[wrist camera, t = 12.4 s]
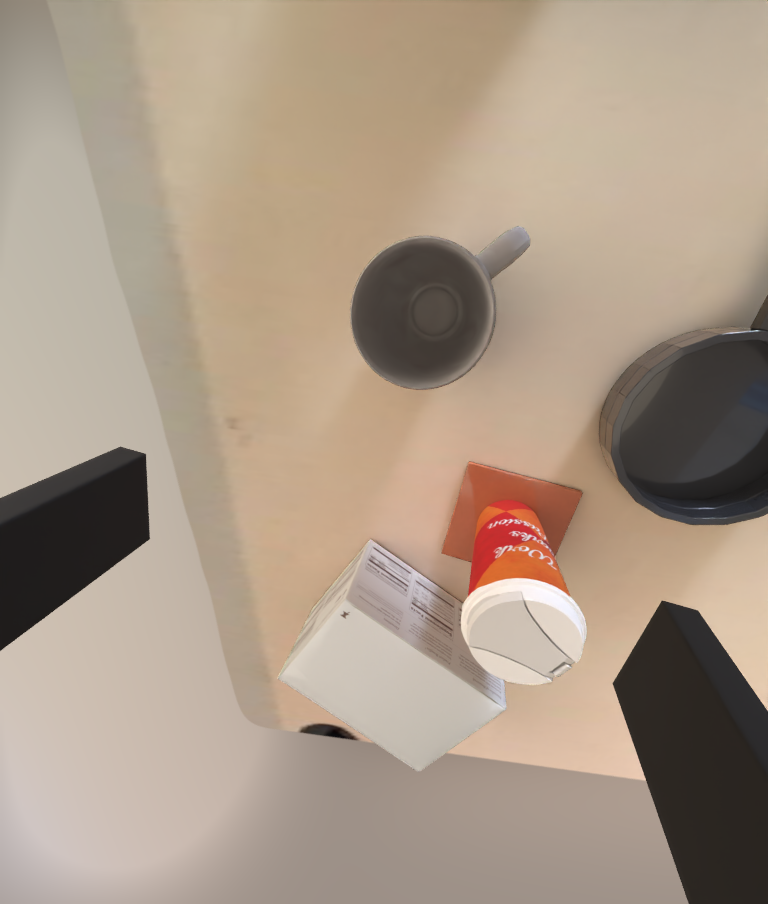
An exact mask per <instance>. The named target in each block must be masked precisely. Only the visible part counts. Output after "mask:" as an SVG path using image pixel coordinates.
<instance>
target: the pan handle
mask: <svg viewBox="0 0 768 904" xmlns="http://www.w3.org/2000/svg"><path fill="white" fill-rule="evenodd" d="M751 329H756V330H764V331H768V295H767V297H766V299H765V301H764V303H763V305H762V307H761V308H760V310H759V312H758V314H757V316H756V318H755V320H754V322H753V324H752V326H751Z"/></svg>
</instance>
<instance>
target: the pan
mask: <svg viewBox="0 0 768 904" xmlns="http://www.w3.org/2000/svg"><path fill="white" fill-rule="evenodd" d="M599 438H600V445H601V449H602V453H603V455H604V458H605V460H606V463H607V466H608V467H609V468H610V470H611V471H612V472H613V474H614V475H615V476H616V478H617V479H618V480H619V482H620V483H621V484H622V485H623V486H624V488H625V489H626V490H627V491H628V493H629V494H630V495H631V496H632V498H633V499H634V500H635V501H636V502H637V503H639V504H641V505H642V506H644V507H645V508H647V509H649V510H650V511H652V512H654V513H655V514H657V515H659V516H661V517H663V518H667V519H671V520H675V521H679V522H682V523H686V524H690V525H728V524H732V523H737V522H741V521H745V520H750V519H754V518H758V517H762V516H764V515H766V514H768V331H764V330H756V329H748V328H740V327H724V328H710V329H702V330H696V331H693V332H689V333H686V334H683V335H680V336H677V337H674V338H672V339H670V340H667V341H665V342H663V343H661V344H659V345H658V346H656V347H654V348H652V349H651V350H649V351H648V352H646V353H645V354H644V355H642V356H641V357H640V358H638V359H637V360H636V361H635V362H634V363H633V364H632V365H631V366H629V367H628V368H627V369H626V370H625V372H624V373H623V374H622V375H621V376H620V378H619V379H618V380H617V382H616V383H615V385H614V386H613V388H612V389H611V391H610V393H609V395H608V397H607V399H606V401H605V404H604V407H603V410H602V413H601V418H600V425H599Z"/></svg>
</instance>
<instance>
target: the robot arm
mask: <svg viewBox="0 0 768 904" xmlns="http://www.w3.org/2000/svg"><path fill="white" fill-rule="evenodd" d="M148 515H149V513H148V492H147V471H146V454H144V453H141V452H137V451H134V450H130V449H126V448H123V447H119V448H117V449H114V450H112V451H110V452H107V453H105V454H102V455H100V456H98V457H95V458H93V459H91V460H88V461H86V462H84V463H82V464H79V465H77V466H74V467H72V468H70V469H68V470H65V471H63V472H60V473H58V474H56V475H53V476H51V477H49V478H46V479H44V480H42V481H39V482H37V483H35V484H32V485H30V486H28V487H25V488H23V489H21V490H18V491H16V492H14V493H11V494H9V495H7V496H4V497H2V498H0V651H1V650H2V649H3V648H4V647H6V646H7V645H8V644H10V643H11V642H13V641H14V640H15V639H17V638H18V637H19V636H20V635H22V634H23V633H24V632H26V631H27V630H28V629H30V628H31V627H33V626H34V625H35V624H36V623H38V622H39V621H41V620H42V619H43V618H45V617H46V616H47V615H49V614H50V613H51V612H53V611H54V610H55V609H57V608H58V607H59V606H61V605H62V604H63V603H65V602H66V601H67V600H69V599H70V598H71V597H73V596H74V595H75V594H77V593H78V592H79V591H81V590H82V589H83V588H85V587H86V586H88V585H89V584H90V583H92V582H93V581H94V580H96V579H97V578H98V577H99V576H101V575H102V574H103V573H105V572H106V571H108V570H109V569H110V568H111V567H113V566H114V565H115V564H117V563H118V562H120V561H121V560H122V559H124V558H125V557H126V556H128V555H129V554H130V553H132V552H133V551H134V550H136V549H137V548H138V547H140V546H141V545H142V544H144V543H145V542H146V541H148V540H149V539H150V537H149V516H148ZM613 686H614V689H615V691H616V694H617V697H618V700H619V703H620V706H621V709H622V712H623V715H624V717H625V720H626V723H627V726H628V729H629V732H630V735H631V738H632V741H633V744H634V746H635V749H636V752H637V755H638V758H639V761H640V764H641V767H642V770H643V772H644V775H645V778H646V781H647V784H648V787H649V790H650V793H651V795H652V798H653V801H654V804H655V807H656V810H657V813H658V816H659V819H660V822H661V824H662V827H663V830H664V833H665V836H666V839H667V842H668V845H669V848H670V850H671V853H672V856H673V859H674V862H675V865H676V868H677V871H678V874H679V877H680V879H681V882H682V885H683V888H684V891H685V894H686V897H687V900H688V902H689V904H768V711H767V710H766V708H765V707H764V705H763V704H762V702H761V701H760V699H759V698H758V697H757V695H756V694H755V692H754V691H753V689H752V688H751V686H750V685H749V684H748V682H747V681H746V679H745V678H744V676H743V675H742V673H741V672H740V671H739V669H738V668H737V666H736V665H735V663H734V662H733V661H732V659H731V658H730V656H729V655H728V653H727V652H726V650H725V649H724V648H723V646H722V645H721V643H720V642H719V640H718V639H717V637H716V636H715V635H714V633H713V632H712V630H711V629H710V627H709V626H708V624H707V623H706V622H705V620H704V619H703V617H702V616H701V614H700V613H699V612H698V610H694V609H690V608H687V607H683V606H680V605H676V604H673V603H669V602H666V601H661V603H660V605H659V607H658V608H657V610H656V612H655V613H654V615H653V617H652V618H651V620H650V622H649V623H648V625H647V627H646V628H645V630H644V632H643V633H642V635H641V637H640V639H639V640H638V642H637V644H636V645H635V647H634V649H633V650H632V652H631V654H630V655H629V657H628V659H627V660H626V662H625V664H624V665H623V667H622V669H621V670H620V672H619V674H618V676H617V677H616V679H615V681H614V682H613Z"/></svg>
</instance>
